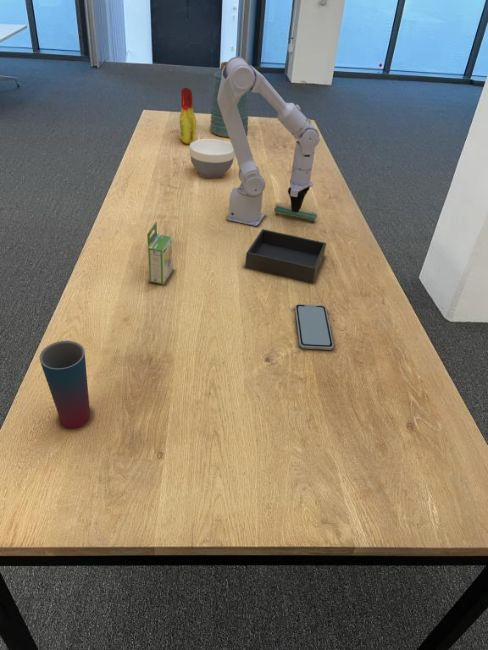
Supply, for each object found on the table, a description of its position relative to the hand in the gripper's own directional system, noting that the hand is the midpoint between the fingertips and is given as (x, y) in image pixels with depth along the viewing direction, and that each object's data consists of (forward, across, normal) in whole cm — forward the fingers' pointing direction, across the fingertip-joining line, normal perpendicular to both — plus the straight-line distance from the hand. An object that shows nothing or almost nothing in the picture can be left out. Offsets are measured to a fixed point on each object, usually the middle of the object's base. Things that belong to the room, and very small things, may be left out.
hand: (295, 209), depth 155 cm
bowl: (+3, +21, +36) cm, 42 cm away
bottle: (+3, +48, +57) cm, 75 cm away
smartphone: (+3, -52, -17) cm, 55 cm away
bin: (+3, -27, -4) cm, 27 cm away
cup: (+3, -94, +17) cm, 96 cm away
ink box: (+3, -47, +23) cm, 52 cm away
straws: (+2, 0, 0) cm, 2 cm away
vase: (+3, +67, +46) cm, 81 cm away
